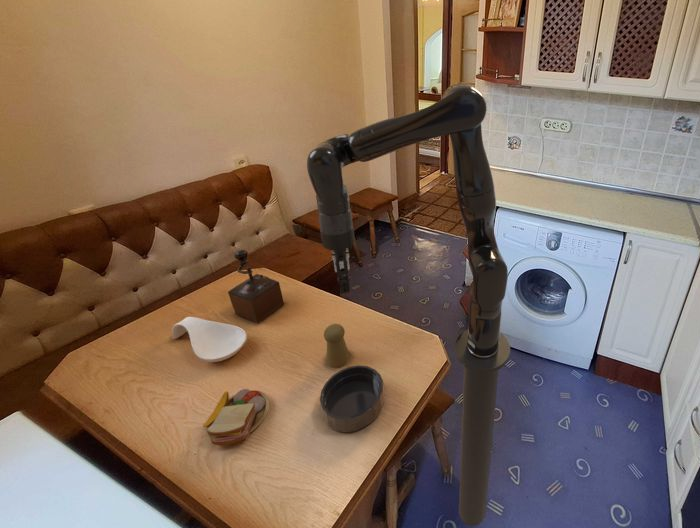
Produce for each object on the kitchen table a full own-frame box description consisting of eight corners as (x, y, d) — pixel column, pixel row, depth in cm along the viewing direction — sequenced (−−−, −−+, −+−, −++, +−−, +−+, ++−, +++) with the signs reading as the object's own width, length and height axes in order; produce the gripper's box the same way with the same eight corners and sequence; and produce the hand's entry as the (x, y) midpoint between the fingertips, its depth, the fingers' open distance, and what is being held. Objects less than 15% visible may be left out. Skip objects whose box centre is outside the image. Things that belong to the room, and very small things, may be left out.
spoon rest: (258, 342, 102) (253, 323, 99) (220, 375, 92) (213, 354, 89) (199, 321, 109) (192, 303, 106) (158, 349, 99) (149, 329, 96)
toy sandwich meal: (280, 393, 88) (276, 380, 86) (250, 450, 76) (245, 436, 74) (229, 393, 88) (224, 379, 86) (190, 449, 75) (184, 435, 73)
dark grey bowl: (350, 371, 94) (348, 357, 92) (395, 391, 89) (394, 377, 87) (309, 418, 82) (306, 403, 80) (358, 444, 77) (356, 429, 75)
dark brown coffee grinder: (287, 303, 118) (276, 257, 111) (257, 324, 109) (244, 276, 101) (253, 290, 123) (241, 246, 116) (223, 310, 114) (207, 263, 107)
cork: (350, 364, 96) (346, 333, 92) (326, 370, 95) (321, 339, 90) (349, 348, 102) (344, 318, 97) (326, 353, 100) (321, 323, 95)
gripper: (356, 237, 79) (362, 296, 86) (350, 211, 91) (356, 264, 98) (320, 243, 77) (329, 302, 83) (319, 215, 89) (327, 269, 95)
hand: (344, 282), depth 91 cm, fingers open, 8 cm apart
